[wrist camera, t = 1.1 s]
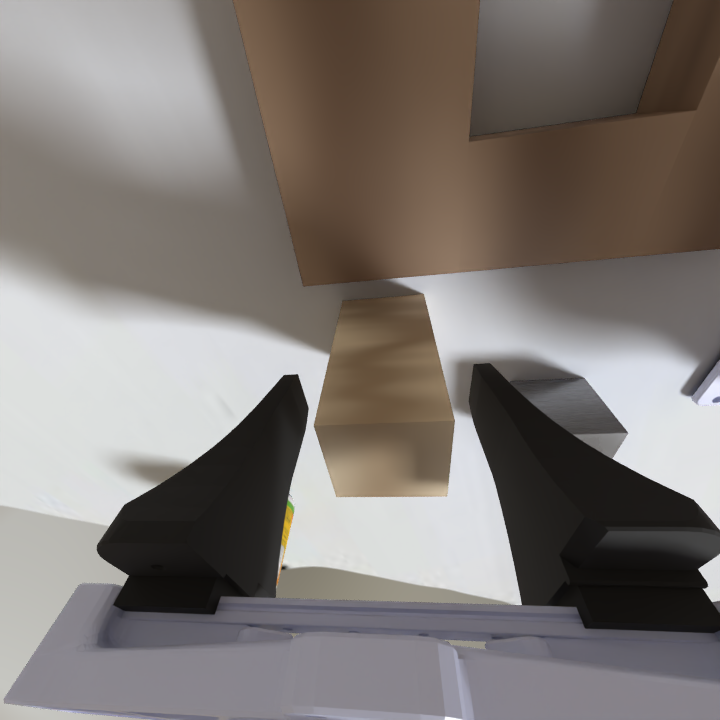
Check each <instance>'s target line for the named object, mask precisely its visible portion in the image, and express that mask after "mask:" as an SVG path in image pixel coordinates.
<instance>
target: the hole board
mask: <svg viewBox="0 0 720 720" xmlns="http://www.w3.org/2000/svg"><path fill="white" fill-rule="evenodd" d="M233 3H234V7H235V11H236V15H237V19H238V23H239V27H240V31H241V35H242V39H243V43H244V48H245V52H246V56H247V60H248V64H249V68H250V72H251V76H252V80H253V84H254V88H255V92H256V96H257V100H258V104H259V108H260V112H261V116H262V121H263V125H264V129H265V133H266V137H267V141H268V145H269V149H270V153H271V157H272V161H273V165H274V169H275V173H276V177H277V181H278V185H279V189H280V194H281V198H282V202H283V206H284V210H285V214H286V218H287V222H288V226H289V230H290V234H291V238H292V242H293V246H294V250H295V254H296V258H297V262H298V267H299V271H300V275H301V279H302V283H303V286H314V285H325V284H336V283H348V282H359V281H370V280H381V279H392V278H403V277H414V276H425V275H436V274H447V273H458V272H469V271H480V270H491V269H502V268H513V267H524V266H535V265H546V264H557V263H568V262H579V261H590V260H601V259H612V258H624V257H635V256H646V255H657V254H668V253H679V252H690V251H701V250H712V249H720V0H674V1H673V4H672V7H671V10H670V13H669V16H668V19H667V22H666V25H665V28H664V31H663V34H662V37H661V40H660V43H659V46H658V49H657V52H656V55H655V58H654V61H653V64H652V67H651V70H650V73H649V76H648V79H647V82H646V85H645V88H644V91H643V94H642V97H641V100H640V103H639V106H638V109H637V112H636V113H634V114H627V115H620V116H613V117H606V118H599V119H592V120H585V121H578V122H571V123H564V124H557V125H550V126H543V127H535V128H528V129H521V130H514V131H507V132H500V133H493V134H486V135H479V136H472V137H469V134H470V121H471V108H472V95H473V83H474V70H475V57H476V44H477V32H478V19H479V6H480V0H233Z"/></svg>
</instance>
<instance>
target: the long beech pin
mask: <svg viewBox="0 0 720 720" xmlns="http://www.w3.org/2000/svg"><path fill="white" fill-rule="evenodd" d="M454 423H455V420H454V416H453V412H452V407H451V403H450V399H449V395H448V391H447V387H446V383H445V379H444V375H443V371H442V367H441V362H440V358H439V354H438V350H437V346H436V342H435V338H434V334H433V330H432V326H431V321H430V317H429V313H428V309H427V305H426V301H425V297H424V294H419V295H407V296H395V297H383V298H371V299H359V300H347V301H342V305H341V310H340V314H339V318H338V323H337V327H336V331H335V336H334V340H333V344H332V349H331V353H330V357H329V362H328V366H327V370H326V375H325V379H324V383H323V388H322V392H321V396H320V401H319V405H318V410H317V414H316V418H315V423H314V428H315V431H316V434H317V437H318V440H319V443H320V447H321V450H322V453H323V456H324V459H325V462H326V466H327V469H328V472H329V475H330V478H331V481H332V484H333V488H334V491H335V494H336V497H436V496H447V493H448V483H449V473H450V463H451V453H452V443H453V433H454Z"/></svg>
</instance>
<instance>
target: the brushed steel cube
mask: <svg viewBox="0 0 720 720" xmlns="http://www.w3.org/2000/svg"><path fill="white" fill-rule="evenodd" d="M510 384H512V385H513V386H514V387H515V388H516V389H517V390H518V391H519V392H520V393H521V394H522V395H523V396H524V397H526V398H527V399H528V400H529V401H530V402H531V403H532V404H533V405H535V406H536V407H537V408H538V409H539V410H541V411H542V412H543V413H544V414H545V415H547V416H548V417H549V418H551V419H552V420H553V421H554V422H556V423H557V424H559V425H560V426H561V427H563V428H564V429H566V430H567V431H568V432H570V433H571V434H573V435H574V436H576V437H577V438H579V439H580V440H582V441H583V442H585V443H586V444H588V445H590V446H591V447H593V448H595V449H596V450H598V451H599V452H601V453H603V454H604V455H606V456H608V457H610V458H611V459H612V458H613V457H614V455H615V453H616V452H617V450H618V449H619V447H620V445H621V444H622V442H623V441H624V439H625V438H626V436H627V434H628V432H627V431H626V429H625V428H624V427H623V426H622V424H621V423H620V422H619V421H618V419H617V418H616V417H615V416H614V414H613V413H612V412H611V411H610V409H609V408H608V407H607V406H606V404H605V403H604V402H603V401H602V400H601V398H600V397H599V396H598V395H597V393H596V392H595V391H594V390H593V388H592V387H591V386H590V385H589V383H588V382H587V381H586V380H585V378H572V379H552V380H531V381H511V382H510Z"/></svg>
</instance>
